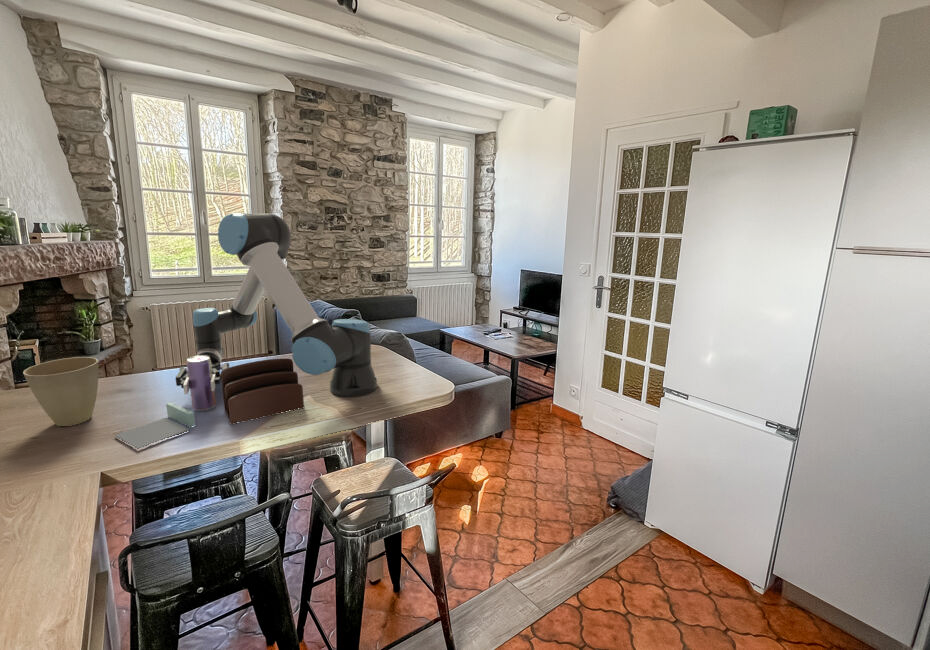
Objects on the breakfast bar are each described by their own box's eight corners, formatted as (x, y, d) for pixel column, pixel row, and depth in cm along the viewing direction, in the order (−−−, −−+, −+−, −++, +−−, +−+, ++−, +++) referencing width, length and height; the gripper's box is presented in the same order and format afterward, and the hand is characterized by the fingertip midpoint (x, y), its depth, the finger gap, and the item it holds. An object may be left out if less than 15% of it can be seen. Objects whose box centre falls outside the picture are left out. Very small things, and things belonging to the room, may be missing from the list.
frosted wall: (195, 426, 121) (193, 412, 120) (191, 427, 120) (189, 414, 119) (172, 415, 127) (170, 402, 126) (167, 416, 126) (165, 403, 125)
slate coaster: (189, 431, 118) (189, 429, 118) (137, 451, 108) (137, 448, 108) (166, 420, 124) (165, 417, 124) (115, 437, 114) (114, 435, 114)
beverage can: (206, 412, 128) (200, 362, 125) (187, 410, 129) (181, 361, 126) (220, 404, 134) (215, 356, 131) (202, 402, 135) (196, 354, 131)
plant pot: (100, 404, 133) (90, 353, 129) (114, 419, 124) (104, 365, 120) (31, 422, 122) (18, 366, 118) (42, 439, 113) (28, 379, 109)
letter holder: (224, 412, 130) (219, 366, 127) (295, 397, 141) (291, 354, 138) (230, 425, 122) (224, 376, 119) (304, 408, 133) (301, 363, 130)
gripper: (240, 370, 150) (238, 395, 130) (174, 377, 143) (161, 405, 122) (238, 348, 149) (235, 370, 128) (171, 354, 141) (156, 379, 121)
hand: (199, 387), depth 125 cm, fingers closed on beverage can, 6 cm apart
